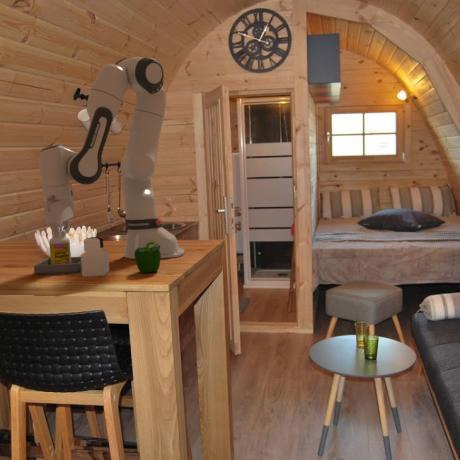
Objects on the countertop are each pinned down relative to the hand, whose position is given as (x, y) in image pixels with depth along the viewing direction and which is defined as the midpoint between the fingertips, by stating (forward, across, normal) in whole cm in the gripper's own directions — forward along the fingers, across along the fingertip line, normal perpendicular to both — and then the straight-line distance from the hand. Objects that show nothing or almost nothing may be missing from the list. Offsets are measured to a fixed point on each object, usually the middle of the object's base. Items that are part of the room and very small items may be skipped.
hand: (62, 234), depth 187 cm
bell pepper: (+13, -10, -30) cm, 34 cm away
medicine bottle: (+12, -10, -12) cm, 20 cm away
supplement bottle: (+11, -1, +2) cm, 12 cm away
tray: (+12, -1, +1) cm, 12 cm away
